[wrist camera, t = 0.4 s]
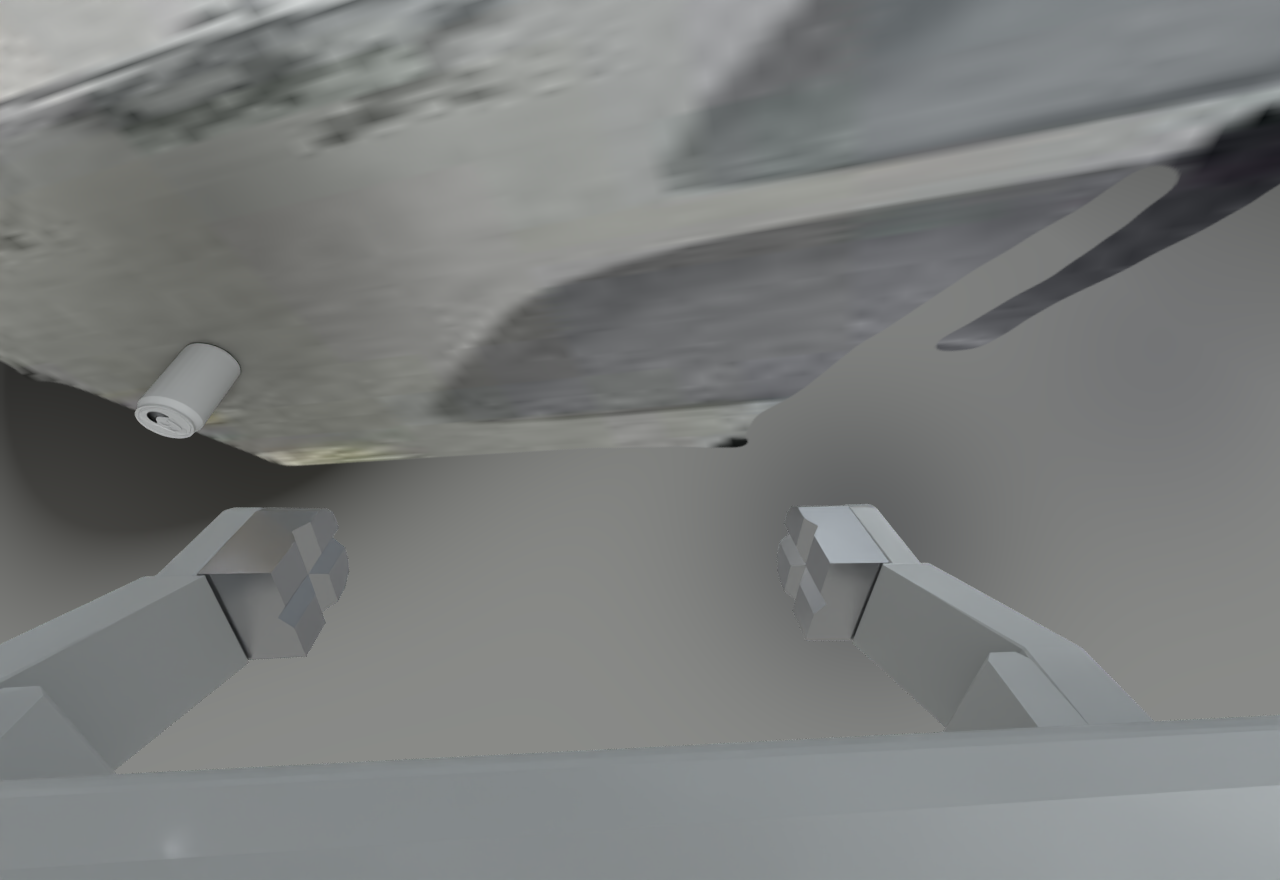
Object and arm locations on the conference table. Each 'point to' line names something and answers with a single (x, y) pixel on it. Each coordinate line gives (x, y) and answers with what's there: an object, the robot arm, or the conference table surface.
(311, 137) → the conference table surface
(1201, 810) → the robot arm
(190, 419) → the beverage can
